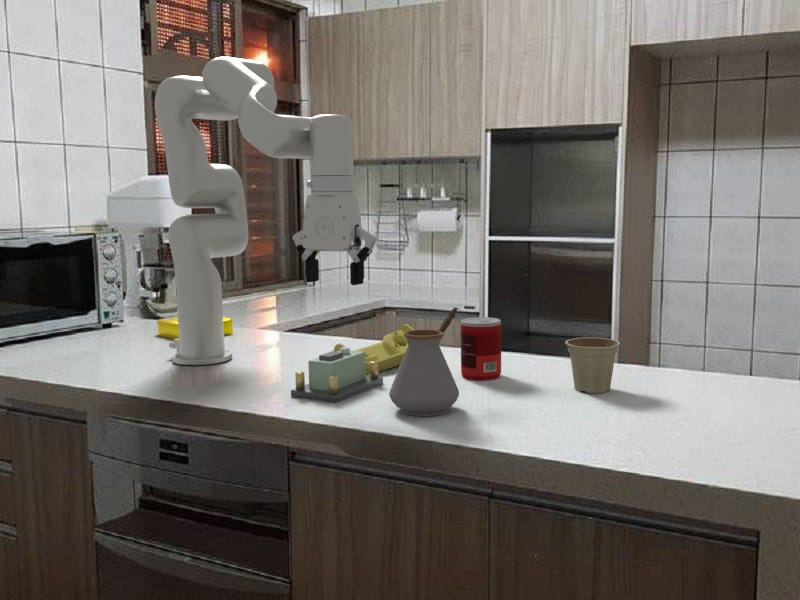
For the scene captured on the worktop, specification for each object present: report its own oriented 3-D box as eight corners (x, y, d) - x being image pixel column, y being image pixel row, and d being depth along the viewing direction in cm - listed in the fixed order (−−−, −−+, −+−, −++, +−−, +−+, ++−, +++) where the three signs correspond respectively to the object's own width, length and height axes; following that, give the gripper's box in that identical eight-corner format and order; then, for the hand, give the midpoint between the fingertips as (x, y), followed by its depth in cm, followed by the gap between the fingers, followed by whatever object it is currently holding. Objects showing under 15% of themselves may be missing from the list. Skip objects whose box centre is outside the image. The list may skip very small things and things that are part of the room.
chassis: (291, 396, 140) (290, 373, 139) (340, 378, 153) (340, 356, 153) (335, 402, 135) (335, 378, 135) (383, 383, 148) (382, 361, 148)
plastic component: (365, 366, 153) (333, 339, 159) (357, 396, 157) (325, 368, 162) (433, 343, 167) (401, 319, 173) (423, 371, 171) (392, 347, 176)
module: (309, 388, 141) (308, 355, 140) (343, 375, 150) (342, 344, 149) (332, 391, 138) (331, 357, 137) (365, 378, 148) (365, 346, 147)
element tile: (236, 335, 206) (235, 316, 206) (184, 343, 196) (183, 324, 195) (205, 328, 217) (204, 311, 216) (155, 336, 206) (154, 318, 206)
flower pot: (589, 399, 135) (589, 349, 134) (554, 387, 143) (554, 340, 142) (630, 391, 139) (631, 343, 138) (594, 381, 147) (595, 335, 146)
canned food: (506, 373, 155) (506, 318, 153) (493, 382, 148) (493, 324, 146) (469, 370, 158) (469, 316, 156) (455, 379, 151) (454, 322, 149)
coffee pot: (443, 422, 122) (442, 327, 120) (377, 415, 127) (375, 323, 125) (488, 390, 141) (487, 308, 139) (428, 385, 146) (427, 305, 144)
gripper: (280, 187, 140) (283, 282, 143) (362, 186, 132) (363, 288, 134) (305, 187, 147) (307, 278, 149) (385, 186, 138) (386, 283, 141)
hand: (334, 282), depth 142 cm, fingers open, 9 cm apart
